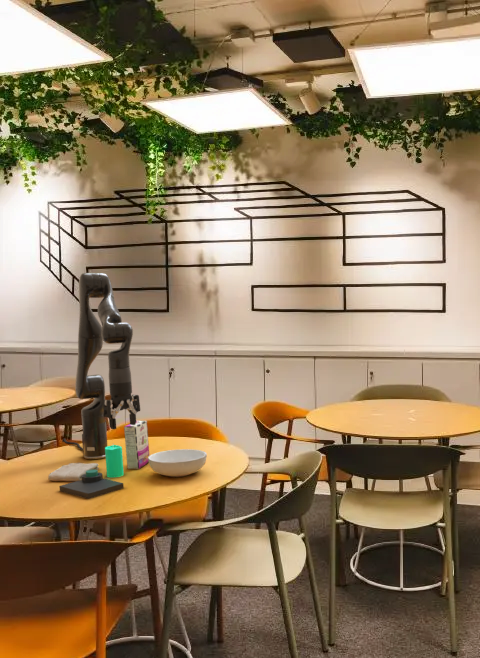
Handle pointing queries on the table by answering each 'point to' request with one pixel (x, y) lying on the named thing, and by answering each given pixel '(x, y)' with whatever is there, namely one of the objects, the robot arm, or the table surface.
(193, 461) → the serving bowl
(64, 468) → the washcloth
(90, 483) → the scale
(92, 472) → the button
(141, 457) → the candy bar box
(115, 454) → the candle
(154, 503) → the table surface
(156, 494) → the table surface
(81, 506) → the table surface
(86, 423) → the robot arm
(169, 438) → the table surface
